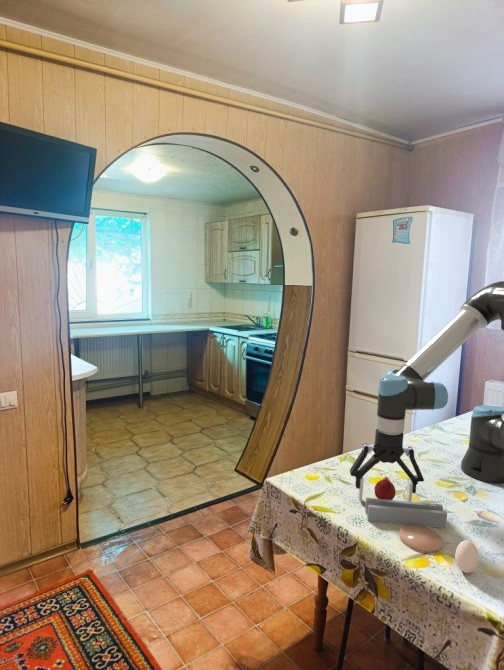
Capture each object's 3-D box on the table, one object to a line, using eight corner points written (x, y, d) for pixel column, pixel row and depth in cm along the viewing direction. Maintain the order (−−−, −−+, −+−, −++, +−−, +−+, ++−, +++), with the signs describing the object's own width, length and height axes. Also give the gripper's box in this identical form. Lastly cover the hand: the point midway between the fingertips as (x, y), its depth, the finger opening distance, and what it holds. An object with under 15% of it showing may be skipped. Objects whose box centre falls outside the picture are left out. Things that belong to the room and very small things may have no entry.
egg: (469, 564, 99) (473, 534, 98) (481, 578, 94) (484, 547, 93) (450, 564, 99) (453, 534, 98) (460, 578, 94) (463, 547, 93)
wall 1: (440, 517, 118) (441, 504, 117) (441, 520, 116) (442, 506, 116) (365, 511, 120) (366, 497, 119) (365, 513, 119) (366, 500, 118)
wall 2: (444, 525, 114) (445, 511, 114) (445, 527, 113) (447, 513, 112) (367, 518, 117) (368, 504, 116) (367, 520, 115) (368, 506, 115)
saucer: (435, 530, 112) (435, 526, 112) (448, 554, 102) (448, 550, 102) (395, 526, 113) (396, 522, 113) (404, 550, 103) (404, 546, 103)
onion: (395, 509, 121) (397, 483, 120) (374, 507, 122) (376, 480, 121) (393, 499, 127) (395, 473, 126) (372, 496, 128) (374, 471, 127)
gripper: (431, 428, 124) (425, 497, 127) (343, 422, 127) (339, 490, 130) (439, 438, 116) (432, 511, 119) (345, 432, 119) (341, 503, 122)
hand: (384, 500), depth 124 cm, fingers open, 13 cm apart
